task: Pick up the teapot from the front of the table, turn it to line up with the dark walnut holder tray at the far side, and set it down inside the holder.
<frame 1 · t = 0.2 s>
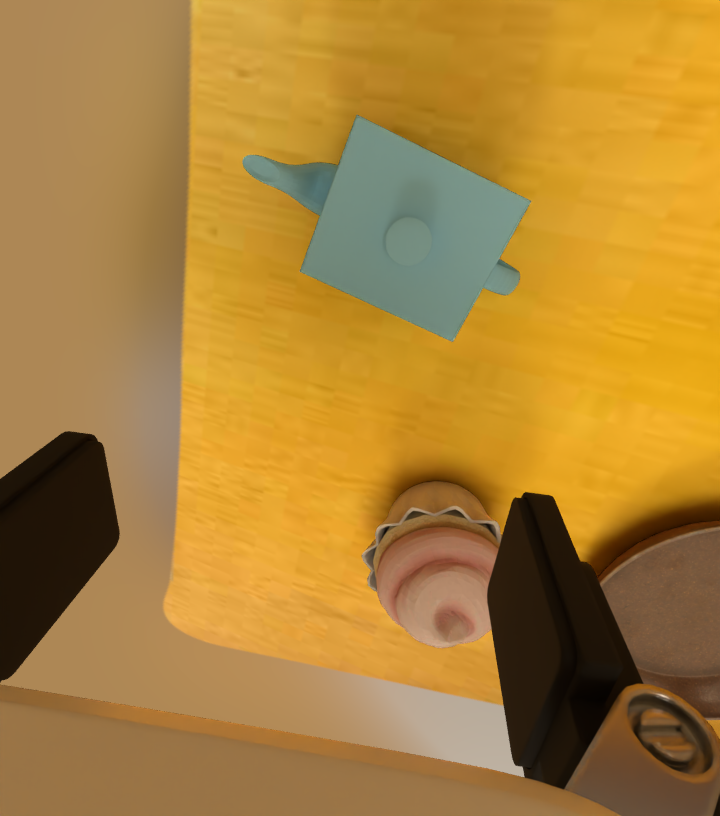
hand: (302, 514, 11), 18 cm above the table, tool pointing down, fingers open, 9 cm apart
cupcake: (437, 514, 33), on the table
teapot: (394, 214, 25), on the table
plant saucer: (696, 596, 33), on the table
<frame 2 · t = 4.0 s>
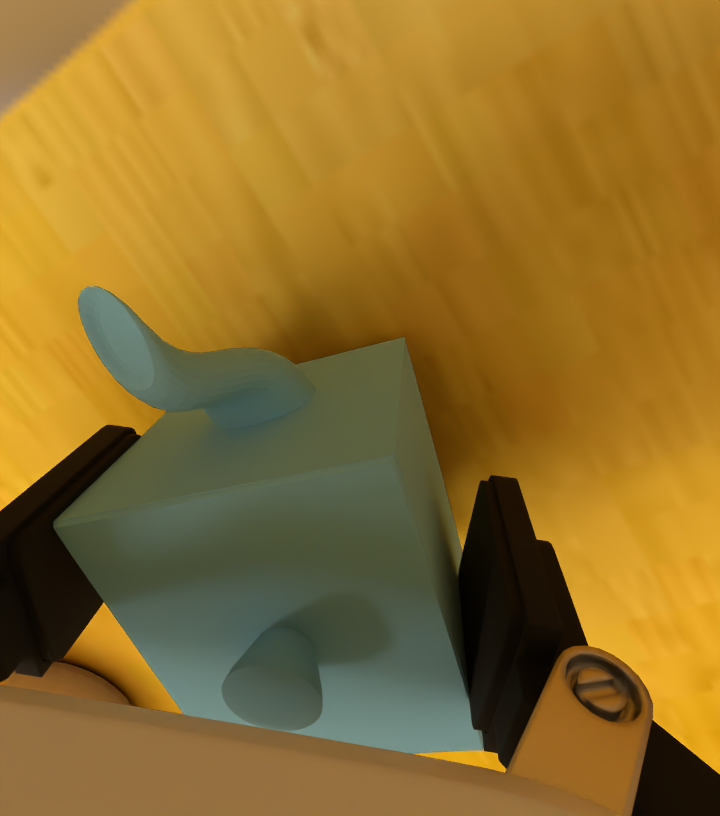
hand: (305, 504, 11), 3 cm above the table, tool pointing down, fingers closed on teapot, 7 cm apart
cupcake: (78, 697, 22), on the table
teapot: (329, 430, 14), on the table, touching gripper
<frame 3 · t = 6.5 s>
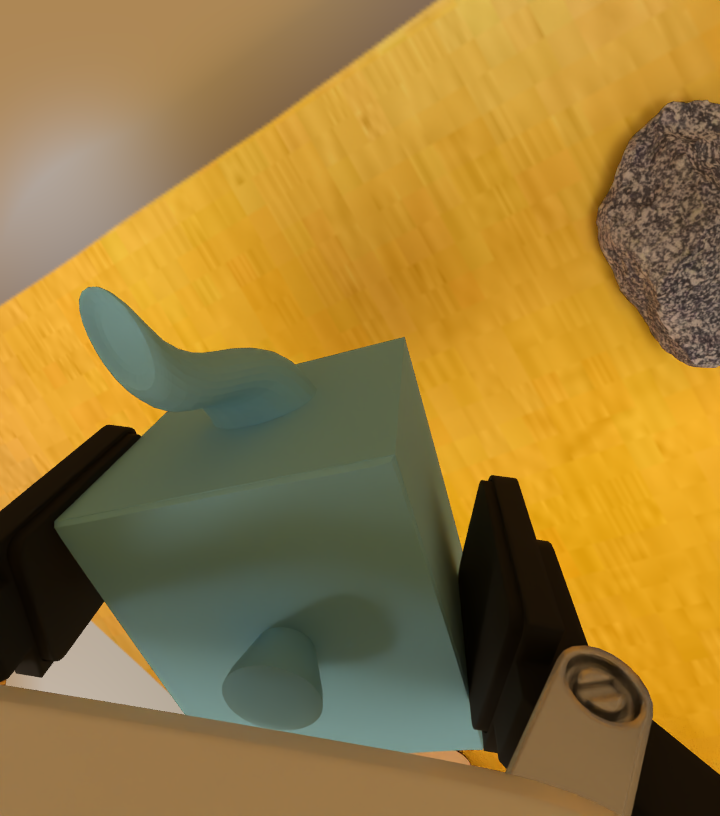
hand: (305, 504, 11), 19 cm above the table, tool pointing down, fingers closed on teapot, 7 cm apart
cup: (432, 764, 49), on the table
rock: (681, 237, 25), on the table
teapot: (329, 430, 14), point 16 cm above the table, touching gripper
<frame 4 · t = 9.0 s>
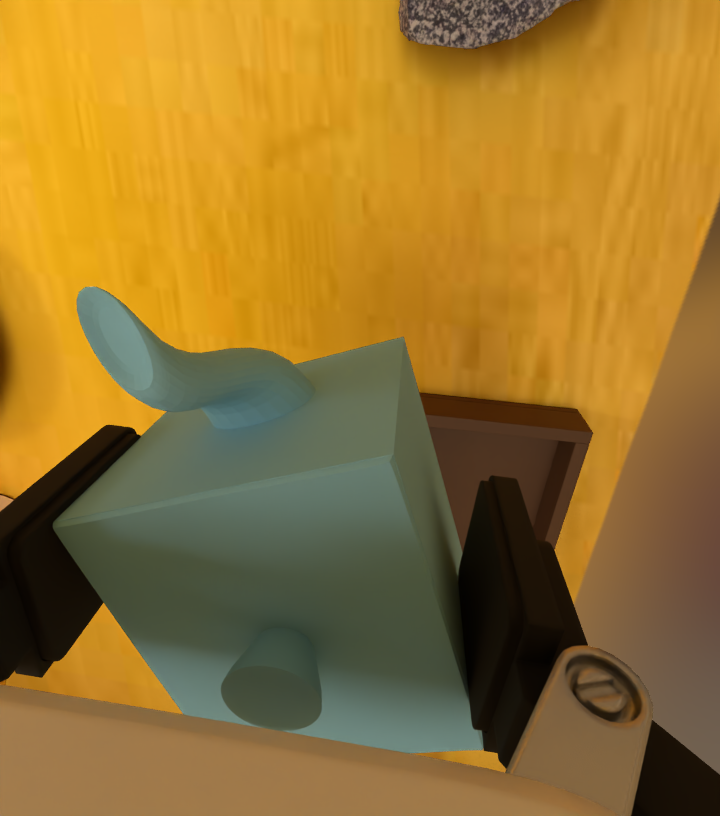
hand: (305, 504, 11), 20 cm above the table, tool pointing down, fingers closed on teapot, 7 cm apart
holder: (471, 503, 35), on the table
teapot: (329, 430, 14), point 16 cm above the table, touching gripper
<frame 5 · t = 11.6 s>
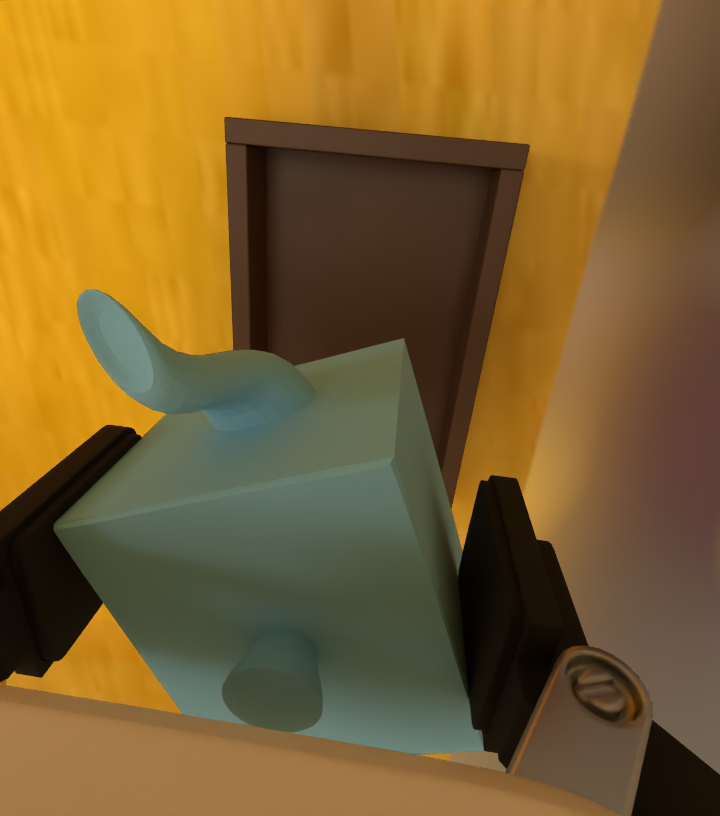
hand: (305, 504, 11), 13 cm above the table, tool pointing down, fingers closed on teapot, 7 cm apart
holder: (362, 334, 23), on the table
teapot: (329, 432, 14), point 10 cm above the table, touching gripper
when the fingers open (5 cm above the table, at t = 13.8 s): teapot drops 1 cm, resting on holder.
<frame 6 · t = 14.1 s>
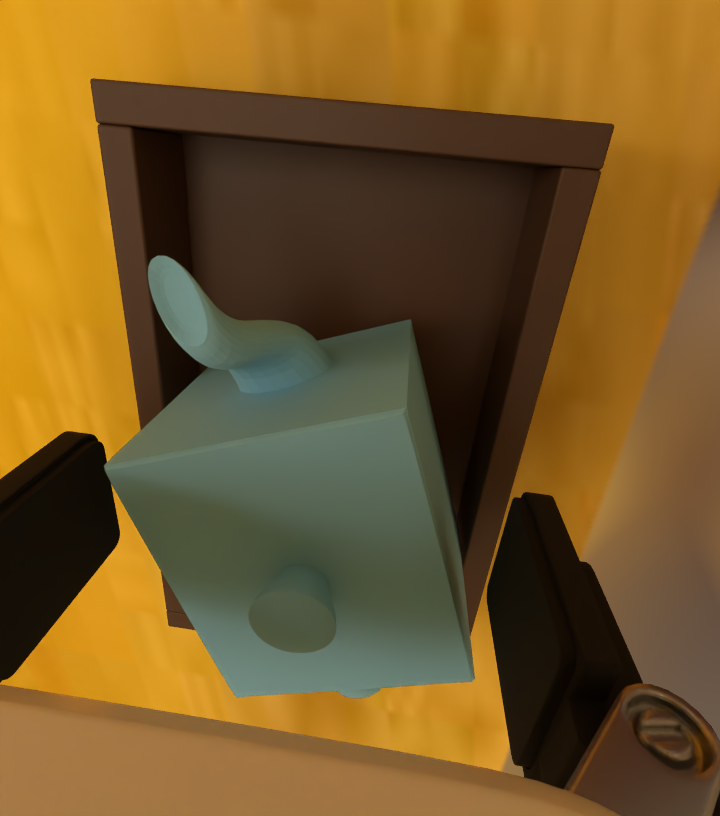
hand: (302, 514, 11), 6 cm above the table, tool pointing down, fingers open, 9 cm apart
holder: (339, 403, 16), on the table
teapot: (337, 406, 16), resting on holder
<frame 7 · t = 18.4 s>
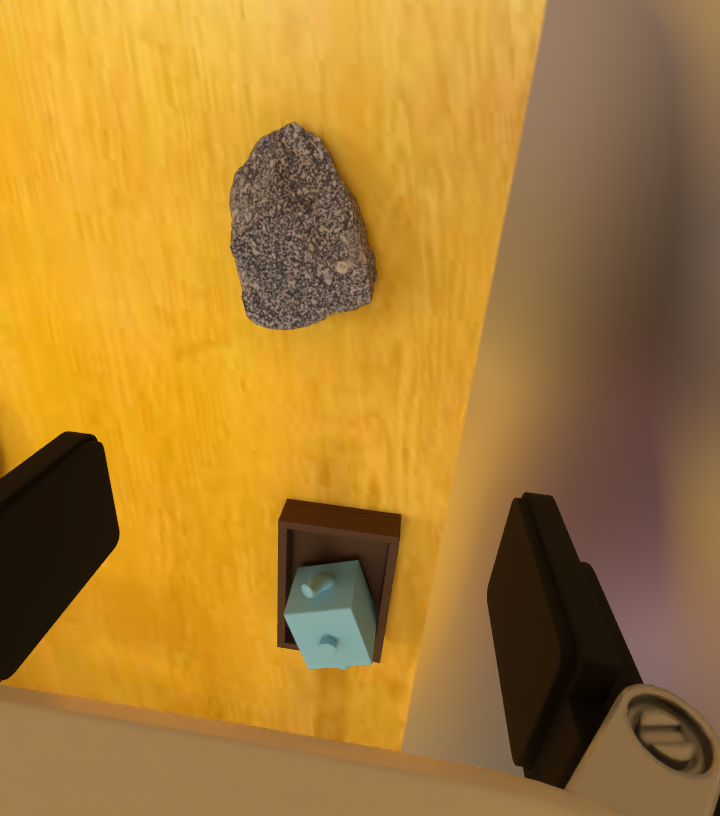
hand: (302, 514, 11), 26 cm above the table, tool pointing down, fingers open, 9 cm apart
holder: (337, 572, 48), on the table
rock: (295, 232, 34), on the table
teapot: (337, 575, 47), resting on holder
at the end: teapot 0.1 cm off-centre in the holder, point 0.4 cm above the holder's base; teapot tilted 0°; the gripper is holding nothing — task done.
